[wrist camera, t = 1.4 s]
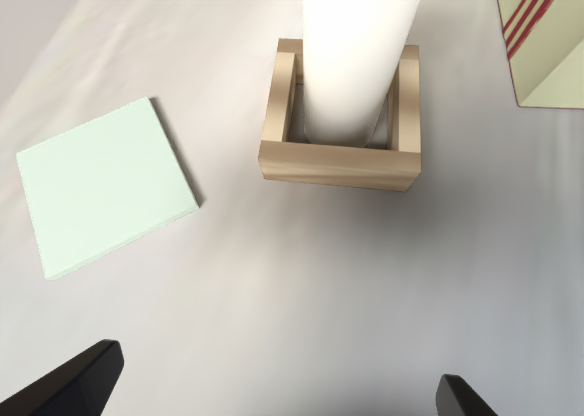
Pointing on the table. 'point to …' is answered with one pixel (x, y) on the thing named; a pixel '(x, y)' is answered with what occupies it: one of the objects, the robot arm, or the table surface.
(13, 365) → the table surface
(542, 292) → the table surface
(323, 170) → the collar
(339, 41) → the white tall cylinder
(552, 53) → the gift box
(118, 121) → the pad
